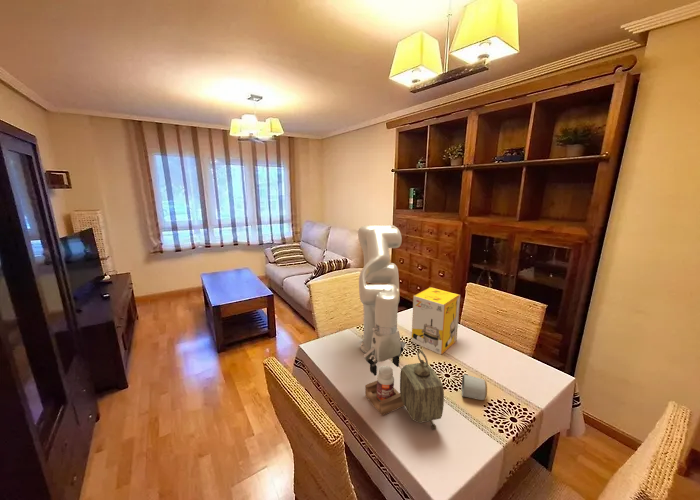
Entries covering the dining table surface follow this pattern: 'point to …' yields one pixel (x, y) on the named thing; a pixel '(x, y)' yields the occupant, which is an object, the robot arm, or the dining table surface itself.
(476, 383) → the ceramic mug
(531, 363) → the dining table surface
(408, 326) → the dining table surface
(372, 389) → the tray
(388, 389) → the pill bottle
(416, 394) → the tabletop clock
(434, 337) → the packaging box
